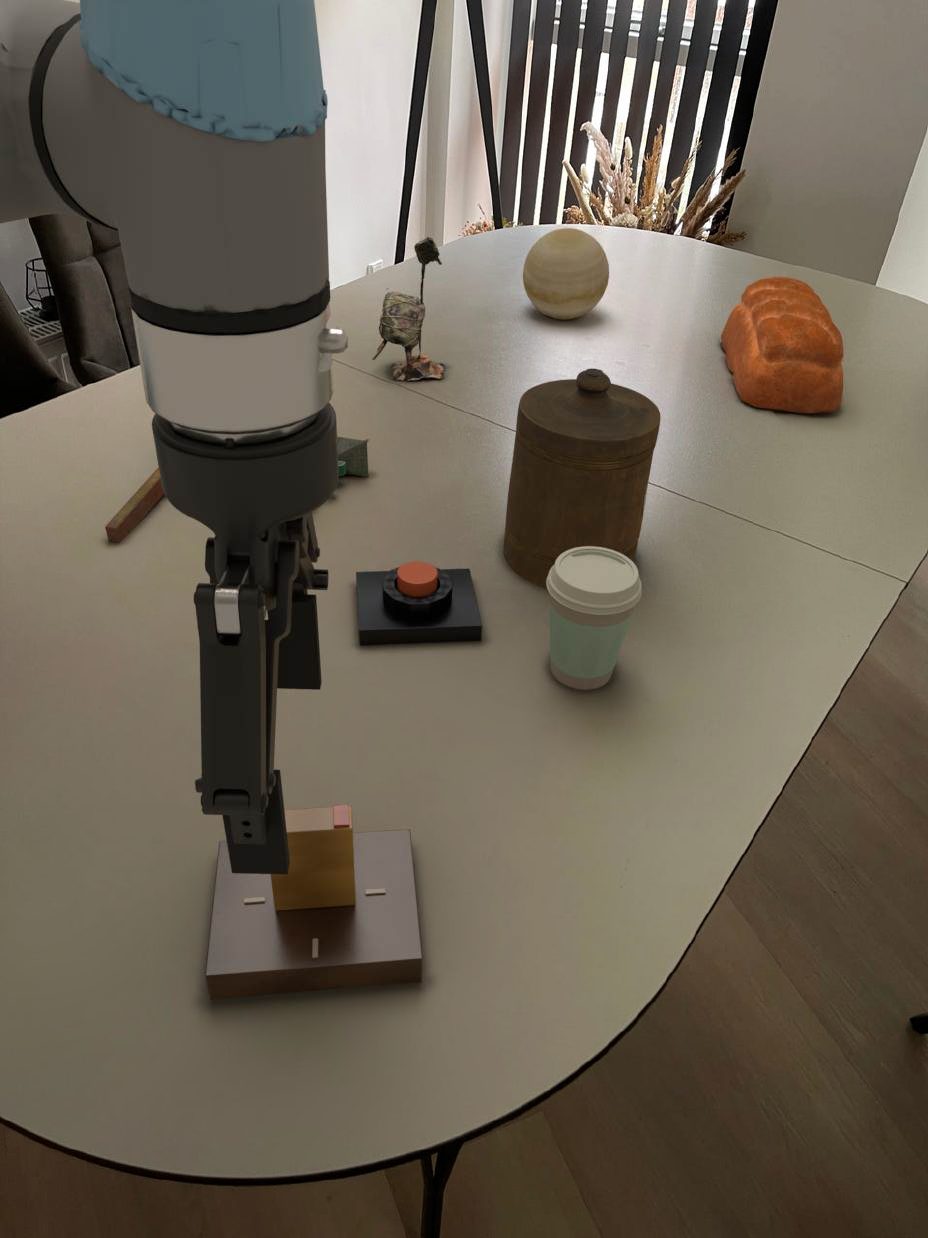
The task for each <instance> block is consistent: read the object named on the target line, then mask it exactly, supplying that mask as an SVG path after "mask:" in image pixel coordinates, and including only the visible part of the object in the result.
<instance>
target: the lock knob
mask: <svg viewBox="0 0 928 1238" xmlns="http://www.w3.org/2000/svg"><path fill="white" fill-rule="evenodd" d="M284 811H285V820H286V830H287V839H288V849H289V858H290V865H289V870H288V875H287V874H270V875H271V883H272V891H273V899H274V907H275V911H279V910H293V909H306V908H320V907H334V906H347V905H355V904H356V898H355V871H354V845H353V833H354V825H353V824H354V821H353V806H352V805H350V804H335V805H333V806H324V807H323V806H321V807H306V808H305V807H304V808H290V809H288V808H287V809H284Z"/></svg>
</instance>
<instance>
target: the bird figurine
mask: <svg viewBox="0 0 928 1238" xmlns="http://www.w3.org/2000/svg"><path fill="white" fill-rule="evenodd" d="M413 247H414V252H415V254H416V257H417V261H418V262H419V264H421V269H420V270H421V271H420V272H421V278H420V280H421V281H420V289H419V297H420V298H419V297H418V296H417V297H416V296H414V295H409V294H407V293H403V292H401V291H396V290H395V291H390V292H387V293H386V294H385V296H384V298H383V302H382V310H381V311H382V313H381V316H380V318H379V325H378V331H379V332H378V333H379V335H380V337H381V339H383V340H382V342H380V344H379V346H378V347H377V349H376V352H375V353H374V354H373V356H372V359H371V360H372V361H375V360H376V359H377V358H378V356H379V355H380V354H381V353H382V351H383V350H384V348H385V347H386V346H387V344H388V343H391V344H394V345H399V346H401V347H402V348H404V352H405V361H397V362H392V364H391V365H390V366H389V367H390V369H395V370H394V371H393V372H392V373H393V375H392V376H391V377H390V379H392V380H396V381H417V380H418V381H419V380H421V379H423V378H426V379H429V378H435V379H439V380H440V379H442V378H444V375H445V373H444V372H446V371H447V369H446V364H445V363H442V362H440V363H438V362H433V361H432V360H431V359H430V357H429V356H428V355H427V354H421V351H422V344H421V343H422V328H423V322H424V320H425V318H426V306H425V302H424V279H425V273H426V266H427V265H429V264H430V263H434V262H437V264H438V265H440V266H442V264H443V263H442V261H441V259H440V258H439V256H440V251H439V248H438V246H437V244H436V242H435V240H434V239H433V238H432V237H431V236H426V237H425V238H422V239H421V240H419V241H417V242H415V244H414V246H413ZM386 290H389V288H386ZM417 346H418V351H419V354H417V355H413V349H414V348H415V347H417Z"/></svg>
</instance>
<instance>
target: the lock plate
mask: <svg viewBox="0 0 928 1238" xmlns="http://www.w3.org/2000/svg"><path fill="white" fill-rule="evenodd" d="M353 845H354V871H355V898H356V904H355V905H347V906H334V907H320V908H306V909H293V910H279V911H275V907H274V899H273V891H272V883H271V875H270V874H243V873H232V870H231V864H230V858H229V852H228V846H227V840H220V841H219V843H218V851H217V858H216V859H217V860H216V870H215V878H214V889H213V897H212V908H211V915H210V916H211V917H210V924H209V925H210V927H209V935H208V936H209V937H208V946H207V954H206V964H205V973H204V977H205V982H206V987H207V992H208V996H209V1000H220V999H221V1000H222V999H232V998H244V997H257V996H269V995H279V994H280V995H281V994H291V993H292V994H293V993H294V994H295V993H303V992H305V993H306V992H318V991H328V990H341V989H352V988H364V987H365V988H366V987H375V986H377V987H378V986H388V985H389V986H390V985H398V984H399V985H400V984H401V985H402V984H411V983H421V982H422V980H423V961H424V959H423V949H422V939H421V928H420V918H419V907H418V906H419V905H418V897H417V887H416V877H415V865H414V855H413V846H412V845H413V844H412V833H411V829H410V828H407V829H392V830H391V829H389V830H375V831H359V832H353Z"/></svg>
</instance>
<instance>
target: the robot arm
mask: <svg viewBox="0 0 928 1238" xmlns="http://www.w3.org/2000/svg"><path fill="white" fill-rule="evenodd" d="M315 5H316V3H315V0H79V2H77V1H71V0H0V224H6V223H10V222H15V221H20V220H25V219H30V218H35V217H41V216H46V215H67V216H71V217H74V218H77V219H79V220H83V221H86V222H89V223H91V224H95V225H98V226H101V227H104V228H107V229H111V230H113V231H117V232H118V237H119V242H120V243H119V244H120V249H121V253H122V259H123V263H124V268H125V274H126V279H127V287H128V291H129V297H130V298H129V299H130V304H131V306H130V309H131V315H132V322H133V328H134V335H135V340H136V347H137V353H138V359H139V365H140V371H141V378H142V384H143V391H144V398H145V402H146V404H147V405H148V406H149V408H150V410H151V411H152V413H154V415H153V417H152V420H151V431H152V435H153V442H154V448H155V454H156V461H157V466H158V467H159V472H160V478H161V484H162V489H163V492H164V496H165V498H166V499H167V501H168V502H169V504H170V505H171V506H172V507H173V508H175V510H177V511H178V512H180V513H181V514H183V515H185V516H186V517H188V518H191V519H193V520H195V521H197V522H198V523H201V525H204V526H205V527H206V528H208V529H209V530H211V531H212V532H213V535H214V536H213V537H207V539H206V542H205V553H204V570H205V572H206V573H207V575H208V576H209V582H208V583H205V582H198V583H197V584H196V587H195V591H194V593H193V604H194V607H195V614H196V625H197V631H198V632H197V633H198V640H199V641H198V642H199V684H200V685H199V694H200V697H199V699H200V755H201V756H200V758H201V760H200V761H201V763H200V764H201V765H200V766H201V777H199V778H196V779H195V780H194V787H195V788H194V789H195V792H196V793H198V794H199V793H201V795H200V806H201V812H202V814H203V815H205V816H211V815H212V816H222V821H223V827H224V833H225V841H227V846H228V852H229V858H230V864H231V870H232V873H243V874H287V875H288V870H289V865H290V858H289V849H288V839H287V830H286V820H285V811H284V810H285V801H284V793H283V784H282V775H281V769H275V755H276V753H275V750H276V730H277V729H276V727H277V726H276V725H277V705H278V703H277V702H278V701H277V700H278V689H282V690H313V691H314V690H319V691H320V690H321V688H322V682H323V681H322V667H321V649H320V633H319V617H318V601H317V594H309V592H308V591H310V590H311V591H328V588H329V569H324V568H315V567H314V565H313V564H315V563H316V564H317V563H318V561H319V560H318V559H319V558H320V556H321V548H320V547H319V543H318V542H319V541H318V537H317V532H316V527H315V521H314V516H313V512H314V511H316V510H317V509H319V508H320V507H321V506H323V505H324V504H325V503H326V502H327V501H328V500H329V499H330V498H331V497H332V495H333V494H334V492H335V490H336V489H337V488H336V486H337V483H338V484H339V477H340V476H339V471H338V447H337V437H338V427H337V423H338V422H337V414H336V409H335V408H334V407H333V405H332V404H331V402H330V401H331V400H332V398H333V395H334V393H335V391H334V390H335V389H334V366H333V365H334V364H333V354H336V355H337V354H341V353H344V352H345V351H346V350H347V349H348V347H349V337H348V335H347V333H346V331H345V329H344V328H341V327H327V325H328V322H329V320H330V317H331V308H330V307H331V306H330V302H331V297H332V296H331V281H330V262H329V231H328V229H329V228H328V201H327V200H328V199H327V173H326V171H327V169H326V168H327V167H326V165H327V164H326V120H327V118H328V103H329V101H328V94H327V93H326V92H327V91H326V89H325V87H324V79H323V70H322V61H321V51H320V43H319V42H320V41H319V33H318V31H319V30H318V24H317V23H318V22H317V14H316V6H315ZM337 487H338V486H337ZM335 488H336V489H335ZM266 617H267V619H266Z"/></svg>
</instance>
